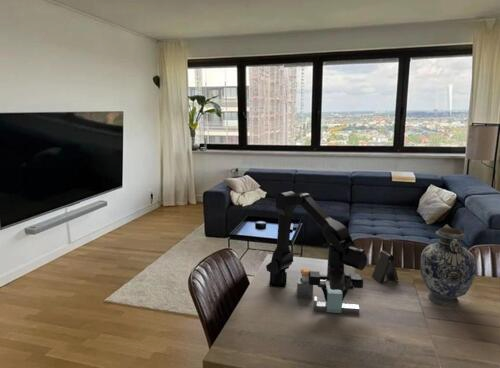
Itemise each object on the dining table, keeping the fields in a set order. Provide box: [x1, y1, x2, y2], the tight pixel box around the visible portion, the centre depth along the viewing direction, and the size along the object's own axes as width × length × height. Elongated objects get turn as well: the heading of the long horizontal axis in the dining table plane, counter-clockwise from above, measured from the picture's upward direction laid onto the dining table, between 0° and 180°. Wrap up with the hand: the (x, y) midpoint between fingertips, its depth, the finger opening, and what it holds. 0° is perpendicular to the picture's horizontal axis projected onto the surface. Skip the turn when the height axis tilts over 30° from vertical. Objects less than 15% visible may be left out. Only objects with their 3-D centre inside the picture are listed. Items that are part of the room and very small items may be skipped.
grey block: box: [325, 284, 343, 314], centre depth 128 cm, size 5×6×7 cm
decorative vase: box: [419, 224, 478, 308], centre depth 134 cm, size 21×19×28 cm
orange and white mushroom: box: [300, 268, 311, 283], centre depth 139 cm, size 4×4×7 cm
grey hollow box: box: [296, 275, 314, 300], centre depth 139 cm, size 6×6×6 cm
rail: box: [312, 296, 360, 315], centre depth 129 cm, size 16×3×4 cm, turn 83°
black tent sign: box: [371, 250, 399, 284], centre depth 153 cm, size 9×6×12 cm, turn 104°
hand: (333, 301), depth 128 cm, fingers closed on grey block, 5 cm apart
